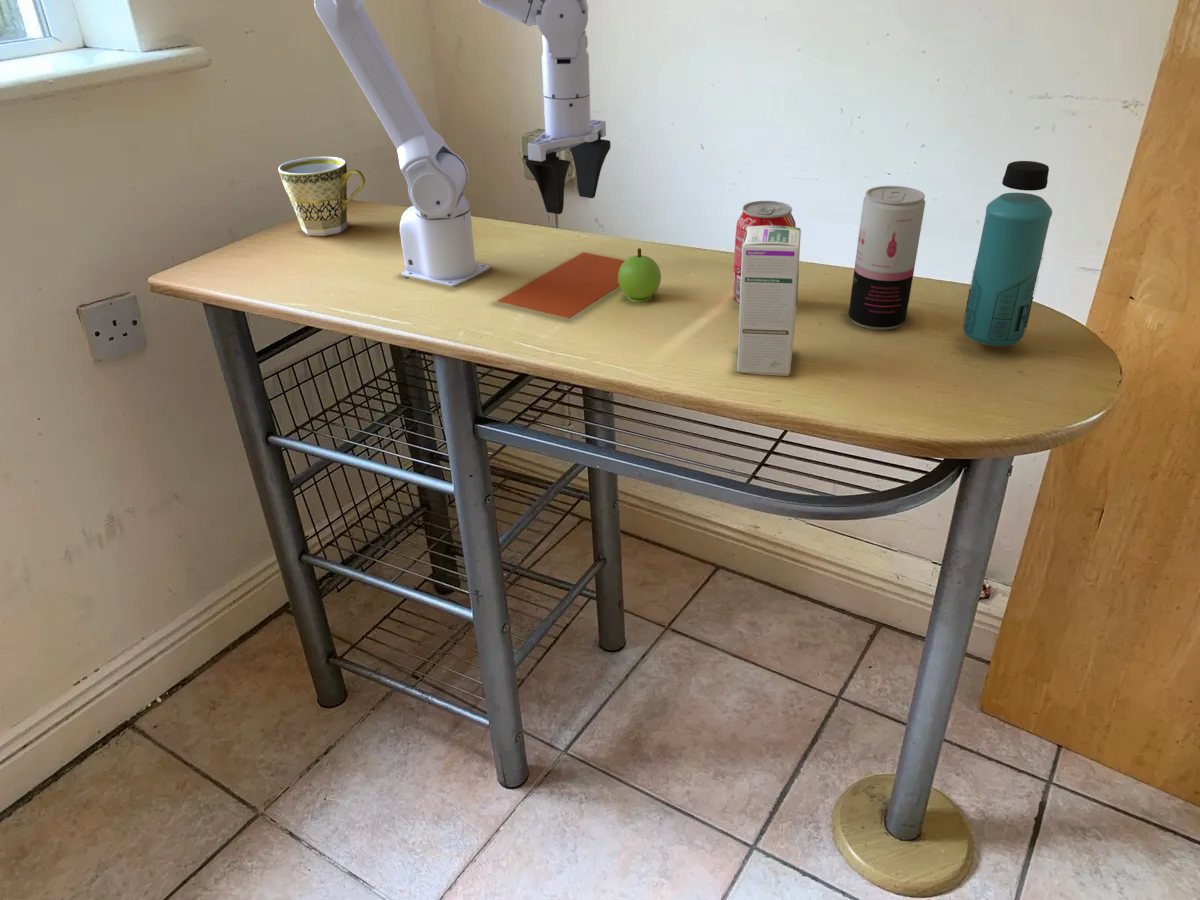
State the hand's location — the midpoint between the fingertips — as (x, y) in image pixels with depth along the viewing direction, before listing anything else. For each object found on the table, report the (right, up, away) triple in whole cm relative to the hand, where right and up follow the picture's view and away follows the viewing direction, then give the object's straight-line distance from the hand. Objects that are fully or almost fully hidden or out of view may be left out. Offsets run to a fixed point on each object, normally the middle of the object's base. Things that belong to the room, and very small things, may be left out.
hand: (571, 204), depth 117 cm
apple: (+9, -13, -3) cm, 16 cm away
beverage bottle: (+47, -21, -17) cm, 54 cm away
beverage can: (+37, -17, -11) cm, 42 cm away
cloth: (+1, -10, +1) cm, 10 cm away
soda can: (+24, -14, -6) cm, 28 cm away
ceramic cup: (-38, +2, +23) cm, 45 cm away
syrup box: (+22, -23, -19) cm, 37 cm away
